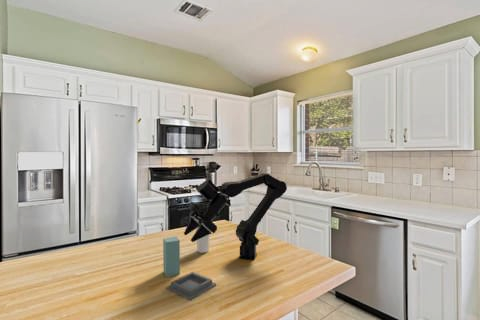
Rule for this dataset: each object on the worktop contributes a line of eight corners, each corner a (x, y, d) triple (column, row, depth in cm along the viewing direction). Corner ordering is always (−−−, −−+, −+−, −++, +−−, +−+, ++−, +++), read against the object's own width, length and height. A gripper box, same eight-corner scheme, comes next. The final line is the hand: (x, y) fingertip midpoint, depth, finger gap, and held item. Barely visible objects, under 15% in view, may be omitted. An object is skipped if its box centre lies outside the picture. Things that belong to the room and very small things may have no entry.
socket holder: (192, 275, 101) (192, 270, 101) (216, 285, 94) (216, 279, 93) (166, 288, 91) (166, 282, 91) (190, 300, 84) (190, 294, 84)
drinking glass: (207, 254, 122) (207, 221, 121) (193, 253, 123) (193, 220, 123) (212, 249, 128) (212, 217, 128) (198, 248, 130) (198, 217, 129)
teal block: (176, 269, 107) (176, 236, 106) (179, 274, 102) (179, 240, 102) (163, 271, 104) (163, 238, 104) (166, 277, 100) (166, 242, 99)
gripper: (193, 191, 116) (167, 219, 111) (209, 198, 100) (180, 231, 95) (210, 207, 120) (186, 235, 115) (228, 216, 103) (201, 250, 99)
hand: (187, 237), depth 106 cm, fingers open, 9 cm apart
